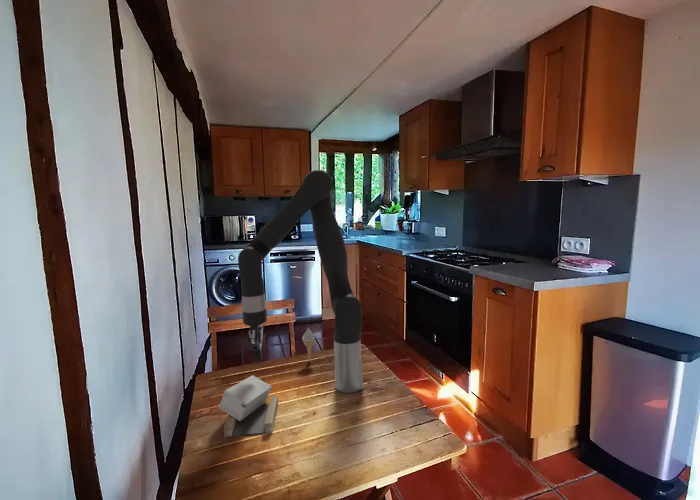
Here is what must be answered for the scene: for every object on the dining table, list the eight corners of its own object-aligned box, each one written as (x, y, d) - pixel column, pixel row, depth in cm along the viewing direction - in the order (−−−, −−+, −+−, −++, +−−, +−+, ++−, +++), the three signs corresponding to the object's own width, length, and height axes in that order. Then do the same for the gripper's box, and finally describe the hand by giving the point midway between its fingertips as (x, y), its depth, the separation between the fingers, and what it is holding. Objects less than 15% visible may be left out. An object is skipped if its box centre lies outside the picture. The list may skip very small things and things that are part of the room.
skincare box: (247, 389, 110) (216, 408, 96) (253, 373, 110) (223, 389, 95) (267, 402, 108) (239, 423, 93) (273, 385, 107) (246, 404, 93)
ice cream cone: (317, 359, 139) (316, 324, 137) (314, 365, 133) (313, 329, 132) (304, 358, 139) (303, 324, 138) (301, 364, 134) (299, 329, 132)
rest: (278, 404, 106) (277, 395, 105) (272, 433, 92) (271, 423, 92) (236, 408, 105) (235, 399, 104) (224, 437, 91) (223, 427, 90)
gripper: (263, 313, 100) (266, 367, 102) (268, 302, 113) (272, 350, 115) (237, 315, 99) (242, 369, 101) (246, 303, 113) (250, 352, 114)
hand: (258, 359), depth 108 cm, fingers closed
